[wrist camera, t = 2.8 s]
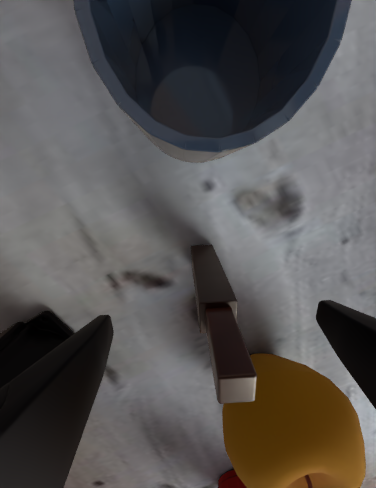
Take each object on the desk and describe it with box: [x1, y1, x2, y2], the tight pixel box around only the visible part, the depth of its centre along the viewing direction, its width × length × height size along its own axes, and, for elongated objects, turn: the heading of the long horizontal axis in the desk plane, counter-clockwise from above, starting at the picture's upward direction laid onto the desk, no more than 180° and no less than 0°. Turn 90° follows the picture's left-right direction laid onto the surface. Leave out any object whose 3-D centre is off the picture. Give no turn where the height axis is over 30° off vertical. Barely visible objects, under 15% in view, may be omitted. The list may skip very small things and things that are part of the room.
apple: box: [222, 353, 366, 488], centre depth 15 cm, size 9×9×9 cm
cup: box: [73, 0, 352, 163], centre depth 8 cm, size 8×8×6 cm
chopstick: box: [191, 244, 257, 404], centre depth 10 cm, size 2×2×10 cm
